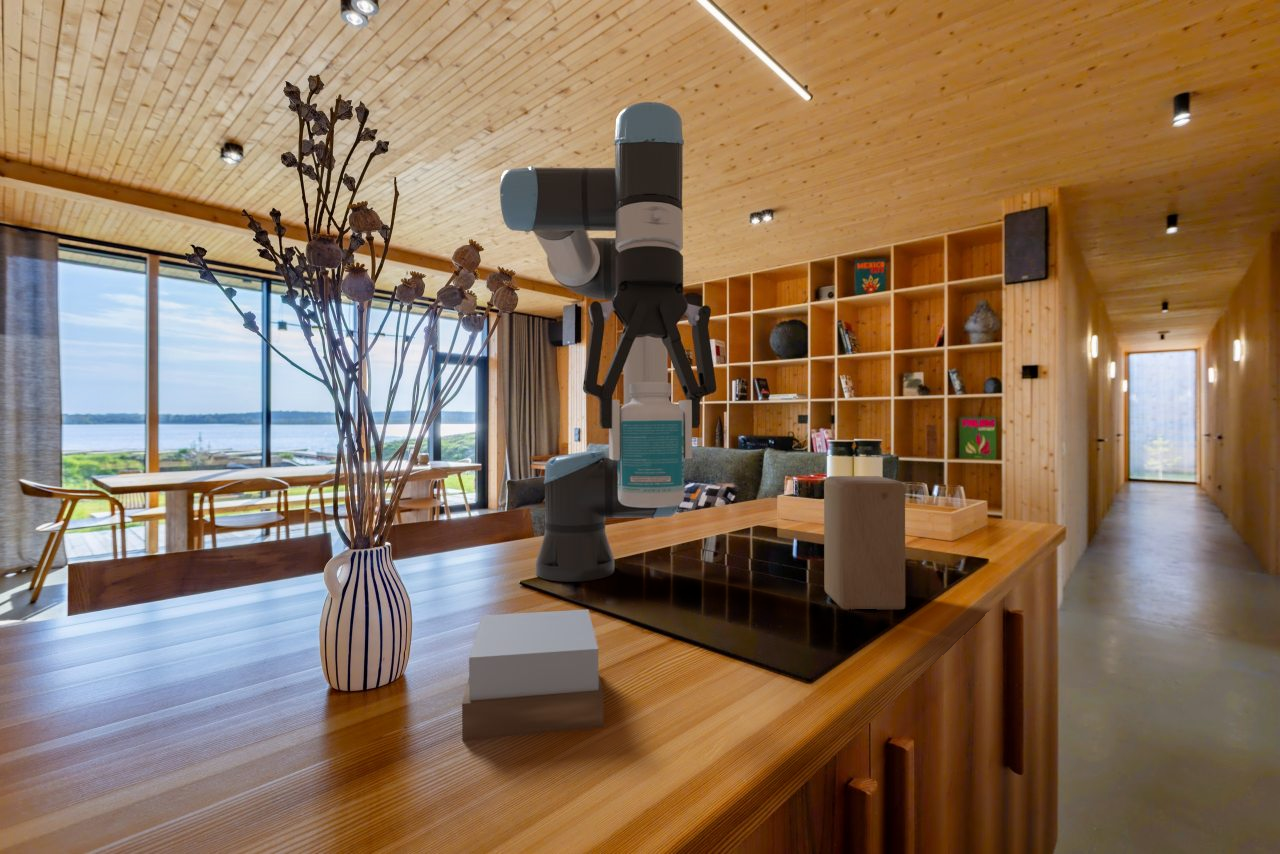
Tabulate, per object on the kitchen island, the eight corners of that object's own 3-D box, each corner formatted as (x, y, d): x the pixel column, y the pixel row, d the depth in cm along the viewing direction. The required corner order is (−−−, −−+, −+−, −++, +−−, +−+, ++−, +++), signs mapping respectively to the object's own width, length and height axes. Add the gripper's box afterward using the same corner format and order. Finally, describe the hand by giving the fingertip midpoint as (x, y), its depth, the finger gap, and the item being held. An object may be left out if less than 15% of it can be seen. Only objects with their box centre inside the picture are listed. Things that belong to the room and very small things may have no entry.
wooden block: (908, 613, 89) (907, 481, 89) (841, 612, 89) (841, 481, 89) (882, 593, 99) (882, 475, 99) (822, 593, 99) (822, 475, 99)
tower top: (482, 650, 66) (481, 615, 66) (588, 643, 68) (588, 609, 68) (469, 700, 54) (469, 657, 54) (598, 690, 56) (598, 648, 56)
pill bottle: (697, 506, 64) (697, 382, 64) (639, 511, 60) (638, 380, 60) (660, 498, 70) (660, 386, 70) (605, 503, 67) (605, 384, 67)
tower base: (476, 684, 67) (476, 649, 66) (590, 675, 69) (590, 641, 69) (462, 747, 54) (462, 703, 54) (603, 733, 56) (603, 691, 56)
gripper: (559, 237, 59) (561, 462, 60) (748, 248, 64) (748, 459, 64) (555, 257, 67) (556, 458, 67) (724, 266, 71) (725, 455, 71)
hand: (650, 458), depth 65 cm, fingers closed on pill bottle, 7 cm apart
